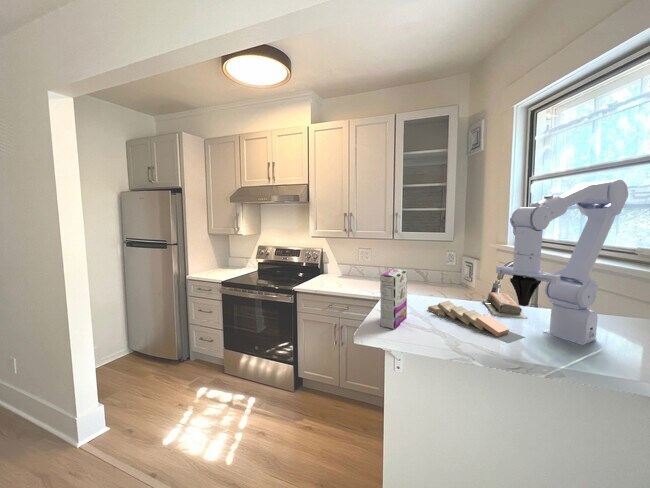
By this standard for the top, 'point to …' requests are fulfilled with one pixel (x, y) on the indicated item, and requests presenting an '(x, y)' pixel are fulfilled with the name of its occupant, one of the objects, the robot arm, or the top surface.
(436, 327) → the top surface
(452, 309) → the domino
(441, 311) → the domino
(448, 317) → the slate mat
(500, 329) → the domino
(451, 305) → the domino
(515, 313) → the packaged product
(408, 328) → the top surface
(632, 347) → the top surface
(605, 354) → the top surface
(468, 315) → the light brown flat block
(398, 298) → the candy bar box
